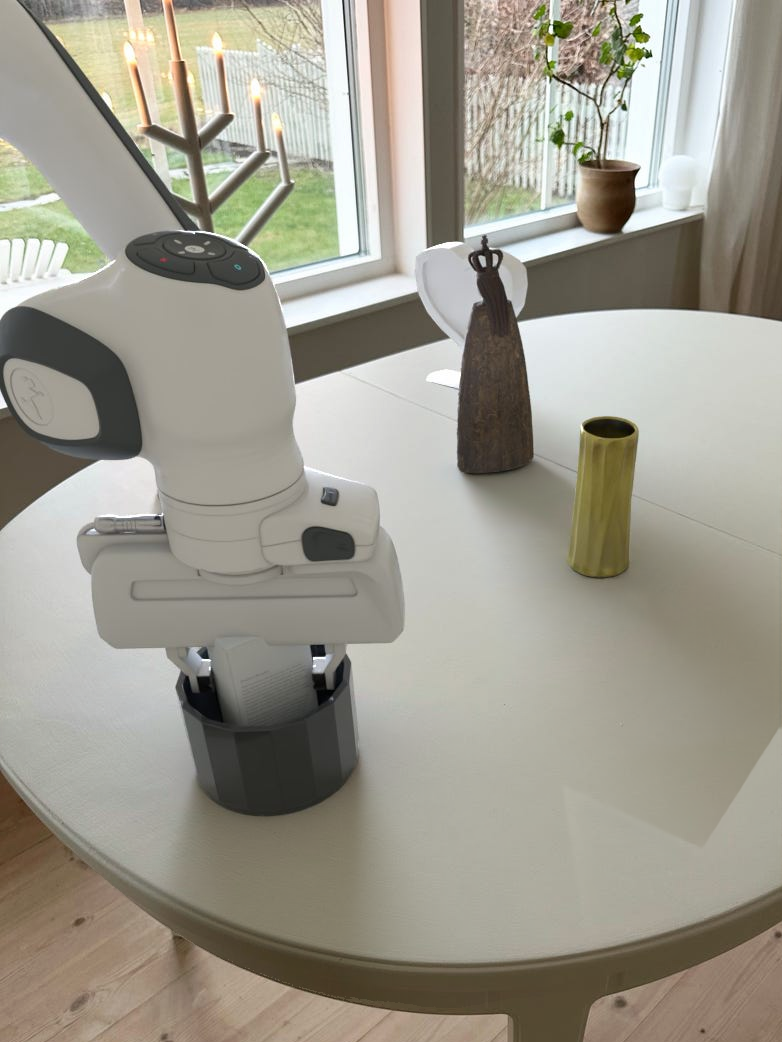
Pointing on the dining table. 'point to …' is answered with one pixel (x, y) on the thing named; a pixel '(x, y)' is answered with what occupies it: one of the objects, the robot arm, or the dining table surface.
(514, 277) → the heart sculpture
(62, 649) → the dining table surface
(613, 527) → the vase
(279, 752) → the holder pot
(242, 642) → the cosmetic box
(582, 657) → the dining table surface
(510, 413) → the statue
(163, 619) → the robot arm
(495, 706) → the dining table surface
